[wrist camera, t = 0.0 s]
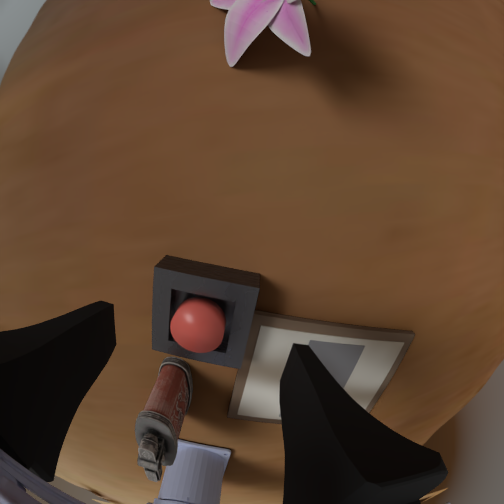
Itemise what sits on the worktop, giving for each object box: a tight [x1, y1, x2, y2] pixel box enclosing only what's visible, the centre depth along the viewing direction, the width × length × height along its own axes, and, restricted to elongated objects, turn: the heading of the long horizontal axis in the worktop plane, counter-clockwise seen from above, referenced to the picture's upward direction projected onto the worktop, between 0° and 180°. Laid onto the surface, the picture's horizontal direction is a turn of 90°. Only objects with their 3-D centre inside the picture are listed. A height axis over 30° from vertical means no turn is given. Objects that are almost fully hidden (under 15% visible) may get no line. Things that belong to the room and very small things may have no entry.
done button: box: [170, 297, 226, 353], centre depth 18 cm, size 4×4×2 cm
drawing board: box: [227, 310, 415, 424], centre depth 22 cm, size 13×15×1 cm
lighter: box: [135, 357, 193, 482], centre depth 19 cm, size 8×3×10 cm, turn 170°
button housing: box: [152, 255, 260, 369], centre depth 19 cm, size 7×7×2 cm
